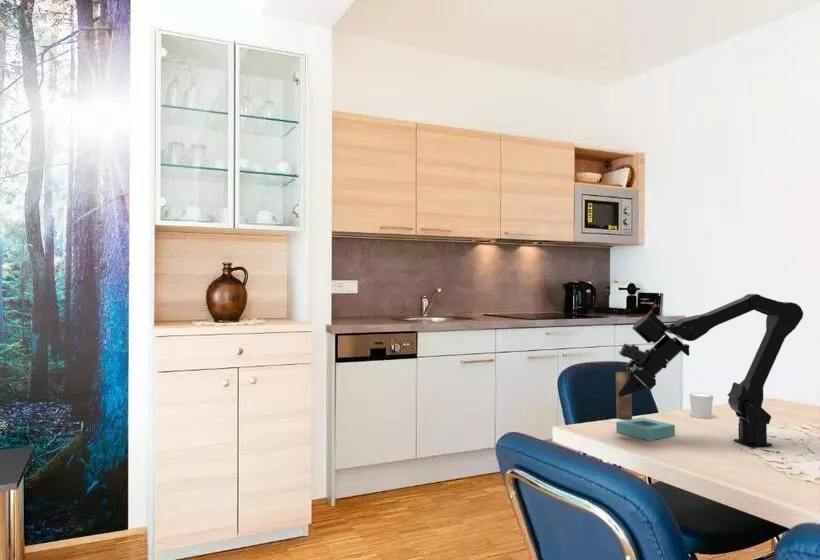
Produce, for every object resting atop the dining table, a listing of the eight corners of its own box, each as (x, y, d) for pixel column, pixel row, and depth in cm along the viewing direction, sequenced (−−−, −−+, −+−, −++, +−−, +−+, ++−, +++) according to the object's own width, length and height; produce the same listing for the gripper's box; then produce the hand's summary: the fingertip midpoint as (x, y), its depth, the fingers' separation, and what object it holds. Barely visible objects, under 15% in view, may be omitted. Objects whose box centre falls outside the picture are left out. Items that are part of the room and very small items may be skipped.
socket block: (674, 435, 168) (674, 424, 168) (648, 440, 163) (648, 429, 163) (642, 427, 178) (642, 417, 178) (616, 432, 172) (616, 422, 172)
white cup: (689, 417, 191) (688, 395, 191) (690, 413, 197) (690, 392, 197) (713, 419, 187) (713, 397, 187) (713, 415, 193) (713, 393, 194)
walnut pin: (634, 419, 164) (633, 373, 164) (621, 420, 163) (620, 374, 163) (627, 416, 167) (626, 371, 168) (613, 417, 167) (612, 372, 167)
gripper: (634, 331, 173) (595, 368, 176) (641, 336, 155) (597, 378, 158) (664, 358, 171) (624, 396, 174) (674, 367, 153) (630, 409, 156)
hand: (618, 394), depth 166 cm, fingers closed on walnut pin, 4 cm apart
